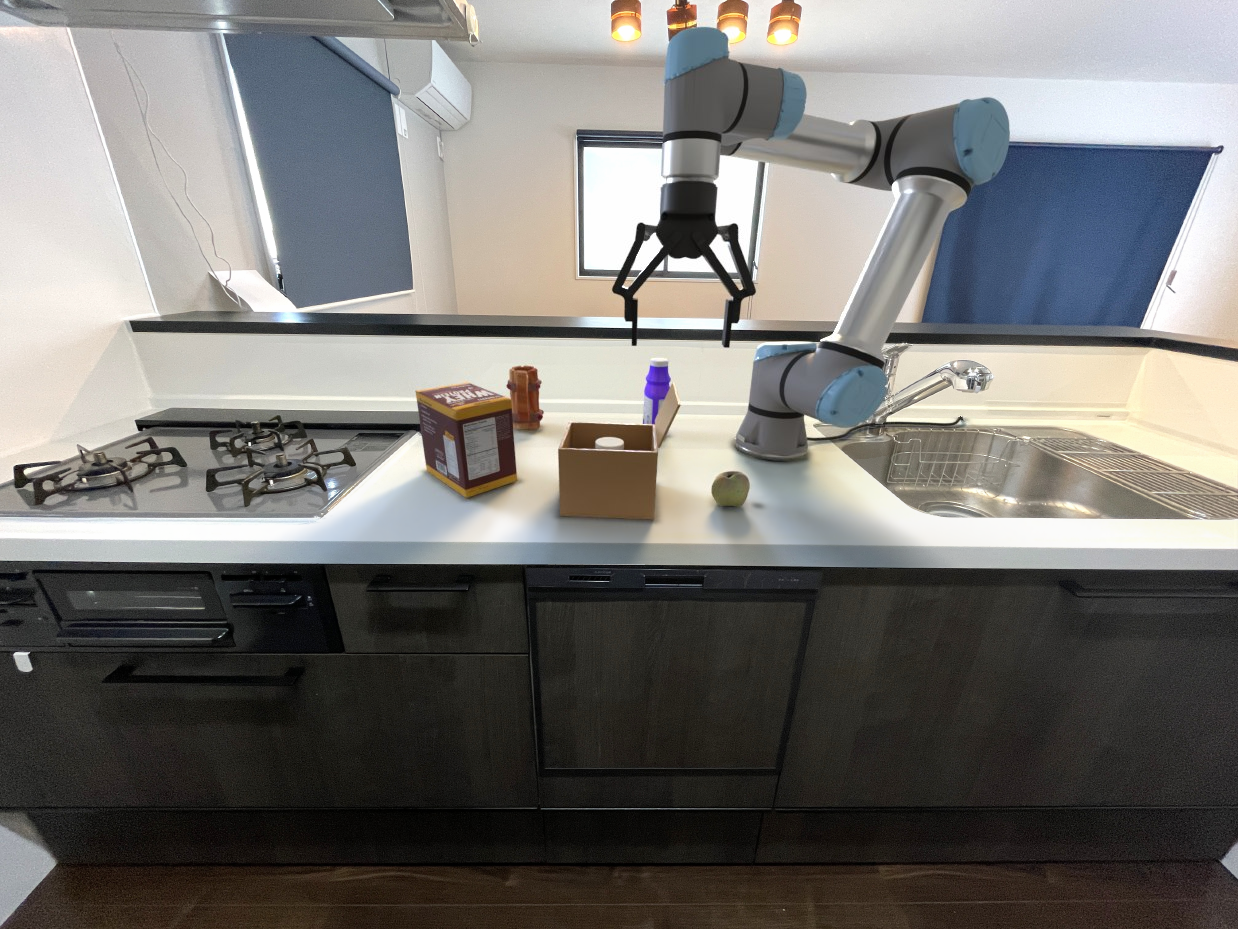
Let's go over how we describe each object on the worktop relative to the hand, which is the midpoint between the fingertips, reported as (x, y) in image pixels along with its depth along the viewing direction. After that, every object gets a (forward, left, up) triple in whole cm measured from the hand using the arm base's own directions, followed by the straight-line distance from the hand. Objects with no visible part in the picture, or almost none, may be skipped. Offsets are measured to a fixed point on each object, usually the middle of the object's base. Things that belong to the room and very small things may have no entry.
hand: (679, 345), depth 74 cm
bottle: (+1, -34, -26) cm, 43 cm away
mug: (+31, -32, -26) cm, 52 cm away
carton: (+10, 0, -26) cm, 28 cm away
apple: (-11, 0, -26) cm, 29 cm away
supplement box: (+36, -7, -26) cm, 45 cm away
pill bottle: (+10, 0, -26) cm, 28 cm away
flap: (+1, 0, -11) cm, 11 cm away
